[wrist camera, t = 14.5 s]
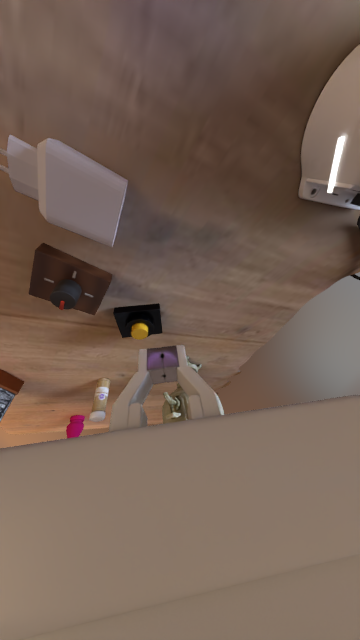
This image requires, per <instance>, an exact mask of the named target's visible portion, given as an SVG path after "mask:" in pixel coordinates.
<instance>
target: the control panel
mask: <svg viewBox="0 0 360 640" xmlns="http://www.w3.org/2000/svg"><path fill="white" fill-rule="evenodd" d="M64 279H68V280H72V281H74V282H76V283H77V284H79V286H80V287H81V290H82V292H81V294H80V297H79V299H78V301H77V303H76V305H75V307H73V309H76V310H79V311H83V312H86V313H89V314H92V315H95V314H96V312H97V310H98V308H99V306H100V303H101V301H102V299H103V297H104V295H105V293H106V291H107V289H108V287H109V284H110V282H111V279H112V274H110V273H108V272H105V271H103V270H101V269H99V268H97V267H95V266H92V265H90V264H88V263H86V262H84V261H81V260H79V259H77V258H75V257H73V256H71V255H68V254H66V253H64V252H62V251H60V250H57V249H55V248H53V247H51V246H49V245H46V244H44V243H43V244H42V245H40V246H39V247H38V248H37V249H36V250H35V256H34V263H33V269H32V276H31V282H30V289H29V295H33V296H36V297H39V298H42V299H45V300H48V301H50V294H51V293H52V291H53V290H54V288H55V287H56V286H57V284H58V283H59V281H61V280H64Z"/></svg>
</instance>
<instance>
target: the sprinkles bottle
mask: <svg viewBox="0 0 360 640" xmlns="http://www.w3.org/2000/svg"><path fill="white" fill-rule="evenodd" d="M109 384H110V380H109V379H106V378H102V379H99V380H98V381H97V388H96V392H95V397H94V401H93V407H92V412H91V414H90V421H94V422H97V421H102V420H104V419H105V409H106V403H107V397H108V391H109Z"/></svg>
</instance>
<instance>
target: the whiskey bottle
mask: <svg viewBox="0 0 360 640" xmlns="http://www.w3.org/2000/svg"><path fill="white" fill-rule="evenodd" d="M23 384H24V381H22V380H20V379H18V378H16V377H14V376H12V375H10V374H9V373H7V372H5V371H3V370H0V421H1V419H2V418H3V416H4V414H5V412H6V410H7V409H8V407H9V405H10V403H11V402H12V400H13V398H14V396H15V395H17V394H18V393H19V391H20V389H21V388H22V386H23Z"/></svg>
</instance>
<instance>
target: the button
mask: <svg viewBox="0 0 360 640" xmlns="http://www.w3.org/2000/svg"><path fill="white" fill-rule="evenodd" d="M131 335H132V337H133V338H135V339H144V338H146V337H147V336H148V327H147V325H146V324H144V323H136V324H134V325H133V326H132V331H131Z"/></svg>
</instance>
